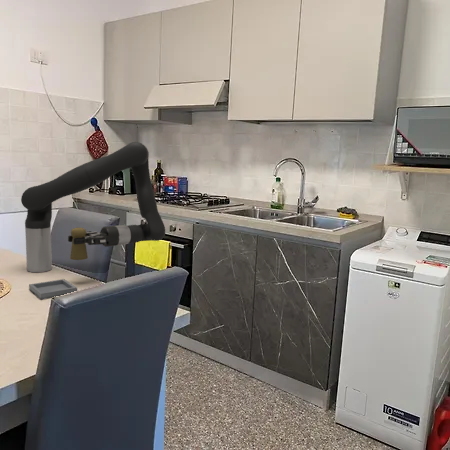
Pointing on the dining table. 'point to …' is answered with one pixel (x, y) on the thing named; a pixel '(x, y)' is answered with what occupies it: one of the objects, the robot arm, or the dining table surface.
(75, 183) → the robot arm
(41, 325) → the dining table surface
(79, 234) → the cork
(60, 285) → the tray
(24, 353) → the dining table surface
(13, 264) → the dining table surface
